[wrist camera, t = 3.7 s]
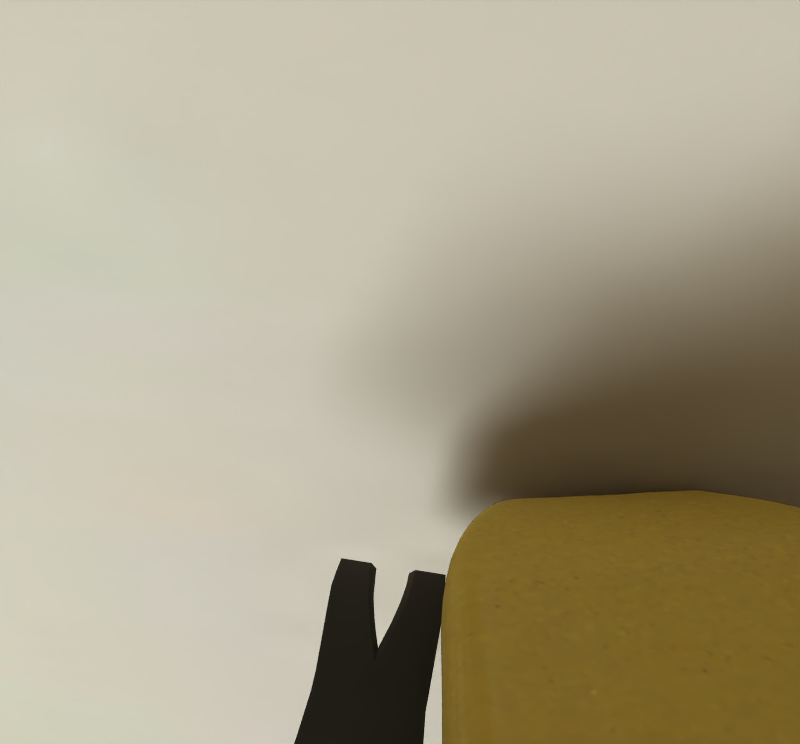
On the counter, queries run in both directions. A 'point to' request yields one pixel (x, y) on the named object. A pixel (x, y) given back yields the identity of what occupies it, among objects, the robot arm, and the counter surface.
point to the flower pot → (624, 622)
